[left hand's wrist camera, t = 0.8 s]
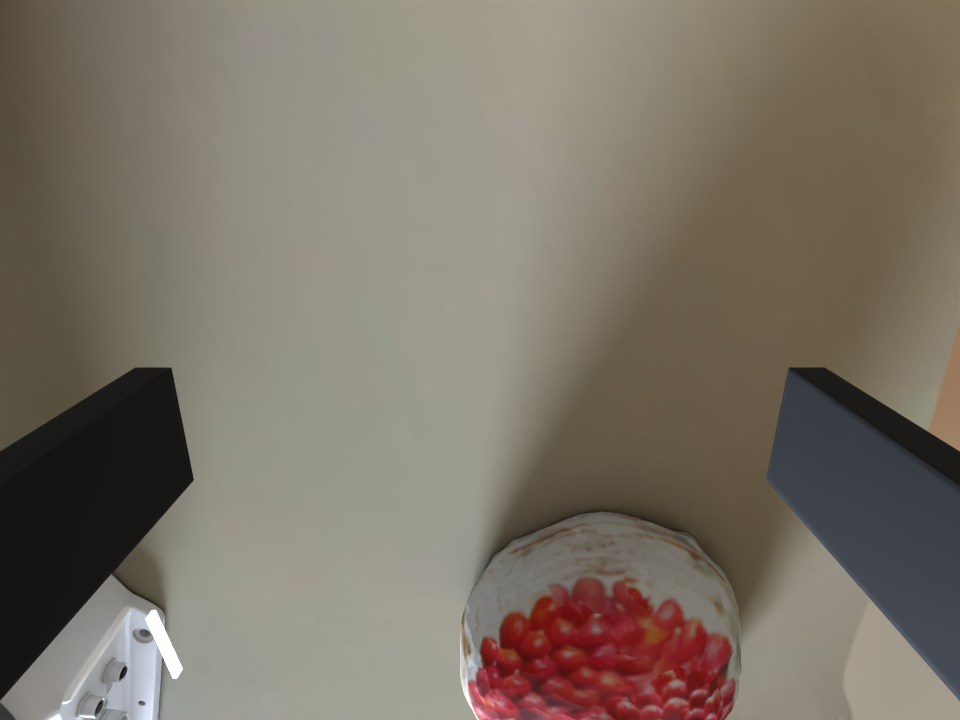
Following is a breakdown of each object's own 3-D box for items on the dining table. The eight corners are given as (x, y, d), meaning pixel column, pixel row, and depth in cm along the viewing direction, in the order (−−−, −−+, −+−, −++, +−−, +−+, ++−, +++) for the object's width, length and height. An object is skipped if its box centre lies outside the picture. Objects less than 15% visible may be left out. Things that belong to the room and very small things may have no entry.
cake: (424, 706, 50) (411, 833, 41) (501, 477, 43) (507, 568, 33) (665, 756, 53) (705, 886, 43) (781, 546, 45) (862, 649, 35)
